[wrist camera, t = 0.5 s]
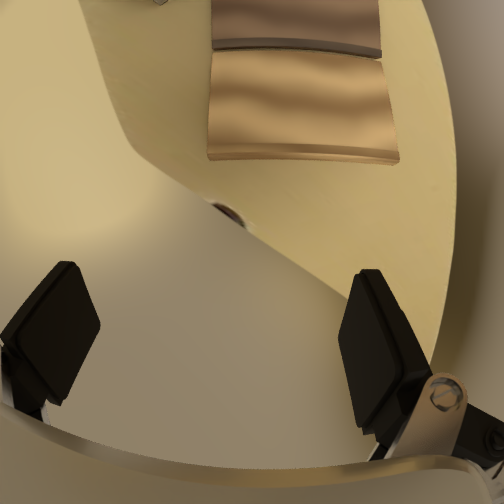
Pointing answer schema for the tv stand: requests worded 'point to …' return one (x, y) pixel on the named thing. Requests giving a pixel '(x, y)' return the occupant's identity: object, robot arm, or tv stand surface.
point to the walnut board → (298, 25)
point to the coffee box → (160, 1)
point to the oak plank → (299, 108)
